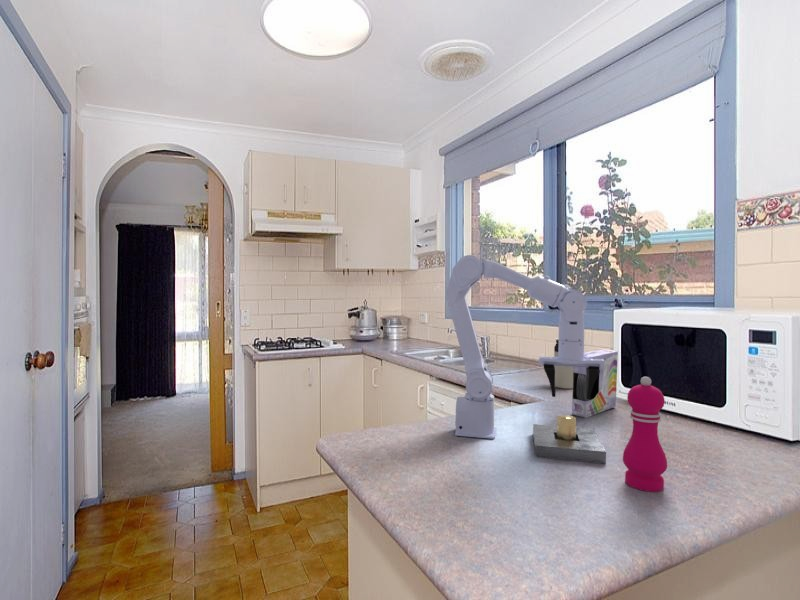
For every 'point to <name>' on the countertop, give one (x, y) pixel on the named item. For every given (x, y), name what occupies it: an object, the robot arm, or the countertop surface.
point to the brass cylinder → (566, 427)
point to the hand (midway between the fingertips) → (570, 397)
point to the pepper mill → (645, 439)
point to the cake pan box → (595, 385)
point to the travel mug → (562, 372)
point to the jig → (568, 445)
